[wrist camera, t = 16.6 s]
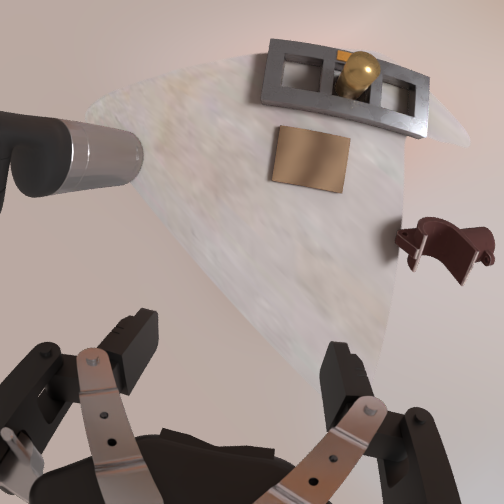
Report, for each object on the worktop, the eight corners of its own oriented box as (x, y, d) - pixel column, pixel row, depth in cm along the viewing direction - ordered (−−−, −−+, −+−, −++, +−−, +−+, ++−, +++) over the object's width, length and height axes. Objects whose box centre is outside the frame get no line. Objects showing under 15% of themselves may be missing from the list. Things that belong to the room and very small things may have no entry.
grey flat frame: (262, 104, 38) (260, 98, 34) (271, 46, 35) (270, 37, 32) (418, 139, 36) (427, 137, 33) (421, 82, 33) (430, 76, 30)
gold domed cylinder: (333, 97, 36) (346, 75, 26) (336, 74, 35) (349, 47, 25) (359, 104, 36) (379, 85, 26) (362, 80, 35) (381, 57, 25)
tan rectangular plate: (272, 180, 40) (271, 180, 39) (280, 126, 38) (280, 125, 37) (340, 193, 40) (341, 193, 39) (349, 139, 37) (350, 138, 36)
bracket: (397, 216, 37) (436, 259, 29) (471, 212, 38) (508, 245, 30) (388, 251, 40) (421, 296, 32) (461, 241, 41) (494, 277, 33)
